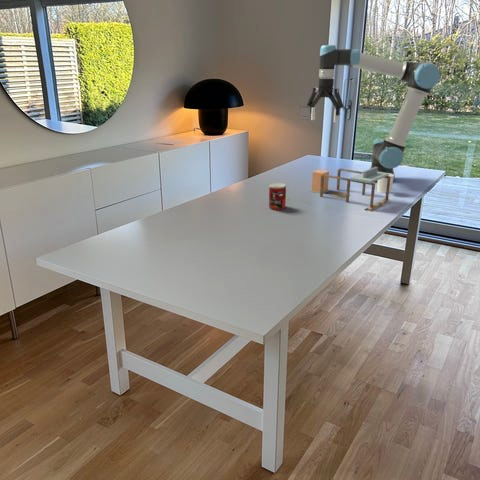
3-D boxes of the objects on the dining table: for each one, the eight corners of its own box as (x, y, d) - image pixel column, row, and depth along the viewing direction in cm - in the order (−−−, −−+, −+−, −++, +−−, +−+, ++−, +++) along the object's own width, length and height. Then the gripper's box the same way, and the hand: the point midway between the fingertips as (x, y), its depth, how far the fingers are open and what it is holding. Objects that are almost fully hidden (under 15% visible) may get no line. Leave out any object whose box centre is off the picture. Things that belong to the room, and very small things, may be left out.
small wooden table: (322, 187, 253) (323, 164, 248) (389, 201, 229) (392, 176, 225) (301, 196, 239) (302, 171, 234) (370, 211, 216) (372, 184, 211)
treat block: (317, 188, 247) (319, 169, 243) (327, 190, 243) (329, 171, 239) (311, 190, 242) (312, 171, 239) (321, 192, 239) (322, 173, 235)
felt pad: (317, 188, 248) (317, 187, 248) (330, 190, 243) (330, 190, 243) (308, 191, 242) (308, 190, 242) (322, 194, 237) (322, 193, 237)
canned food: (266, 208, 220) (266, 186, 216) (273, 204, 227) (273, 182, 223) (281, 211, 217) (281, 188, 213) (287, 206, 223) (288, 183, 219)
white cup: (388, 196, 237) (390, 177, 233) (373, 194, 241) (375, 175, 238) (394, 193, 243) (396, 174, 239) (379, 190, 247) (381, 172, 243)
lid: (369, 172, 231) (370, 164, 230) (388, 175, 225) (389, 167, 224) (350, 179, 218) (351, 171, 217) (370, 183, 212) (371, 174, 211)
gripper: (301, 77, 242) (300, 119, 250) (344, 79, 227) (341, 123, 235) (309, 77, 247) (307, 118, 255) (352, 78, 232) (349, 122, 240)
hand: (324, 121), depth 245 cm, fingers open, 13 cm apart
